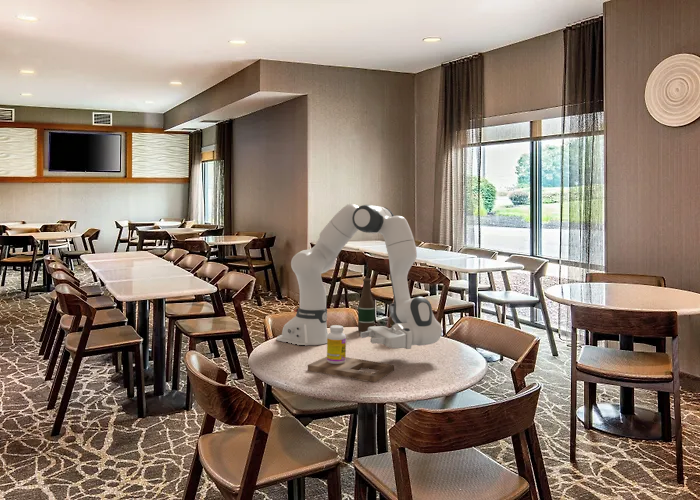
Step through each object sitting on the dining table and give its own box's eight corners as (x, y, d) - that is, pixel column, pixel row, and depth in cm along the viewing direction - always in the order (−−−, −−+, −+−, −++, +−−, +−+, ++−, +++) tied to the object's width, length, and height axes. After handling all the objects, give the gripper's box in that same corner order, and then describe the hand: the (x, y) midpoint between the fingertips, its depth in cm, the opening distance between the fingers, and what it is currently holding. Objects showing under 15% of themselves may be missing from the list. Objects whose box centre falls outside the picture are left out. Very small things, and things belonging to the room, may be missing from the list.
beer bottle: (376, 329, 278) (377, 278, 276) (371, 333, 271) (372, 280, 269) (360, 328, 281) (361, 277, 279) (355, 331, 274) (356, 279, 271)
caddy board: (307, 370, 212) (307, 364, 212) (330, 359, 226) (330, 354, 226) (374, 382, 200) (374, 376, 200) (394, 370, 214) (394, 364, 214)
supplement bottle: (343, 365, 212) (343, 329, 211) (324, 363, 213) (325, 327, 212) (347, 360, 218) (347, 325, 217) (329, 359, 220) (329, 324, 219)
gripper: (388, 321, 233) (355, 323, 228) (413, 332, 214) (377, 335, 209) (388, 337, 234) (355, 340, 229) (412, 350, 215) (377, 353, 210)
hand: (366, 337), depth 219 cm, fingers open, 8 cm apart
